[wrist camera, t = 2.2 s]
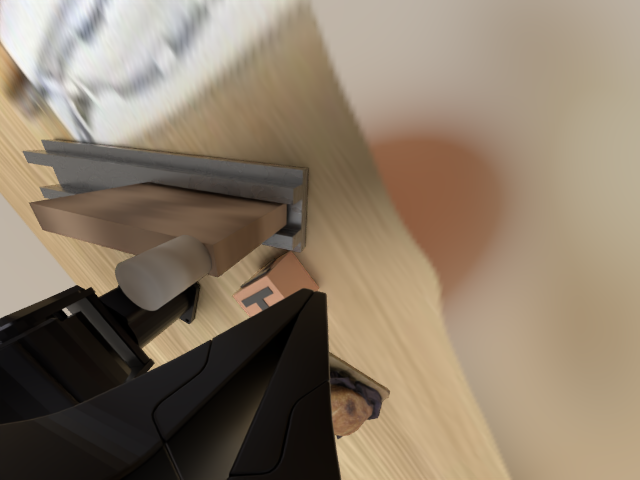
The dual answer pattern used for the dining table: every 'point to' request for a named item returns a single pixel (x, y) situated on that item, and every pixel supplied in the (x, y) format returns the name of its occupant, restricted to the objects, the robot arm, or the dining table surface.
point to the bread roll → (353, 397)
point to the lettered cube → (273, 284)
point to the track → (177, 178)
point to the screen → (164, 233)
